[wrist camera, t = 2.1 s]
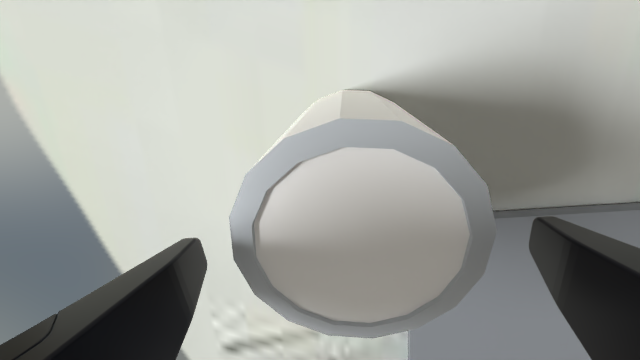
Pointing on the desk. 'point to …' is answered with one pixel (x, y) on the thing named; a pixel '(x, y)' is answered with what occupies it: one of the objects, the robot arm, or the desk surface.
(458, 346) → the coaster mat
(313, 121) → the white faceted cylinder
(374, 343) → the desk surface
